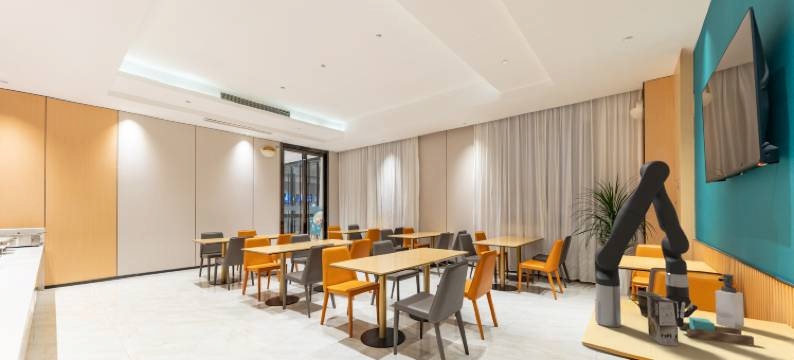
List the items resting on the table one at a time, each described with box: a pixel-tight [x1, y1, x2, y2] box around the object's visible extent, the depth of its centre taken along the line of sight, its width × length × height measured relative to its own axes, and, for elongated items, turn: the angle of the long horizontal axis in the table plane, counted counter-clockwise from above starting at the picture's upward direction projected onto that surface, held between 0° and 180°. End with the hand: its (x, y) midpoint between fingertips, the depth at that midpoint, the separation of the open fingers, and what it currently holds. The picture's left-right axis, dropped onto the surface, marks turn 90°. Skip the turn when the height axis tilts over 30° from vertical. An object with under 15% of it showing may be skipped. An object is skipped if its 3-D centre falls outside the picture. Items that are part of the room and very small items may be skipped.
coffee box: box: [647, 295, 679, 347], centre depth 135 cm, size 9×6×16 cm
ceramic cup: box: [628, 291, 662, 318], centre depth 165 cm, size 13×10×10 cm
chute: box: [678, 321, 755, 346], centre depth 140 cm, size 20×10×3 cm, turn 69°
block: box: [688, 316, 715, 332], centre depth 141 cm, size 6×6×6 cm
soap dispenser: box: [715, 273, 745, 329], centre depth 153 cm, size 6×9×22 cm
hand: (679, 326), depth 144 cm, fingers closed
